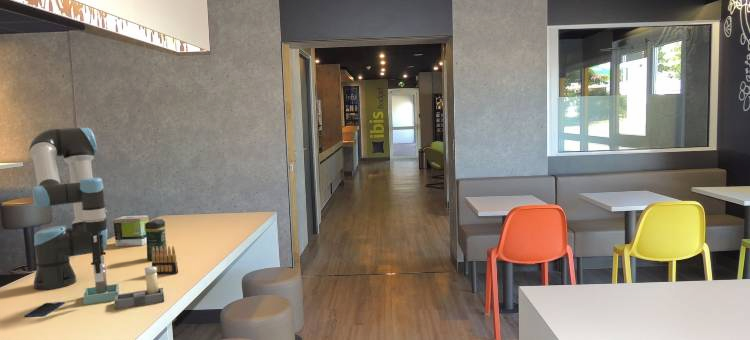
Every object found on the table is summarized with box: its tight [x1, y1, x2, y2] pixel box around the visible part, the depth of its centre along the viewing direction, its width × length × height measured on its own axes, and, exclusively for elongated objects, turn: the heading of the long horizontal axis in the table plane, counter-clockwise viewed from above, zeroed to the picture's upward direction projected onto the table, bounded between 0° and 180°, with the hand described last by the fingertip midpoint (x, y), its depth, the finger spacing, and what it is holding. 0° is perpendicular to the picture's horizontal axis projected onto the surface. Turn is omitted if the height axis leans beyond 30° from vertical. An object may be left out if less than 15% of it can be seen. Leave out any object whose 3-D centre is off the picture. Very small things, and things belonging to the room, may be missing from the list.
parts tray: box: [82, 283, 120, 306], centre depth 208 cm, size 11×11×3 cm
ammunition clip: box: [151, 245, 179, 276], centre depth 238 cm, size 11×2×12 cm, turn 86°
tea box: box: [113, 214, 150, 247], centre depth 300 cm, size 15×10×15 cm, turn 84°
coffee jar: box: [145, 218, 168, 261], centre depth 265 cm, size 10×8×19 cm
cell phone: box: [23, 301, 66, 318], centre depth 198 cm, size 7×14×1 cm, turn 1°
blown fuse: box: [94, 262, 108, 294], centre depth 208 cm, size 4×4×12 cm
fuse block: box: [114, 287, 165, 310], centre depth 201 cm, size 16×8×3 cm, turn 113°
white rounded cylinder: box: [144, 265, 159, 295], centre depth 203 cm, size 4×4×12 cm
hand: (100, 277), depth 208 cm, fingers open, 12 cm apart
